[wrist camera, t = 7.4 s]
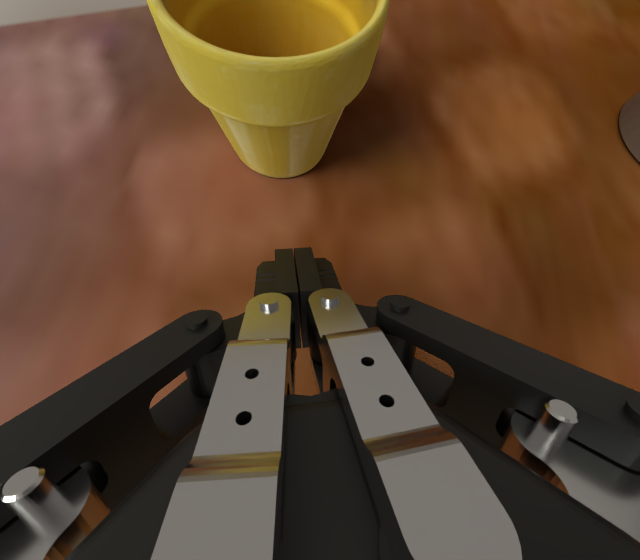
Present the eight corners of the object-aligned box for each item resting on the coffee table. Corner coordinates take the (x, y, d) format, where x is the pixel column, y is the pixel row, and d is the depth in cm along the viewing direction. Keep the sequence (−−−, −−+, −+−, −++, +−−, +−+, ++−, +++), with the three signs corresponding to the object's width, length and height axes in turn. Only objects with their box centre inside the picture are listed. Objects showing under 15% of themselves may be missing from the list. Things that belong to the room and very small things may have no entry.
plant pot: (247, 64, 24) (217, -135, 14) (370, 114, 23) (421, -57, 14) (179, 166, 21) (83, 0, 11) (318, 225, 20) (339, 104, 11)
